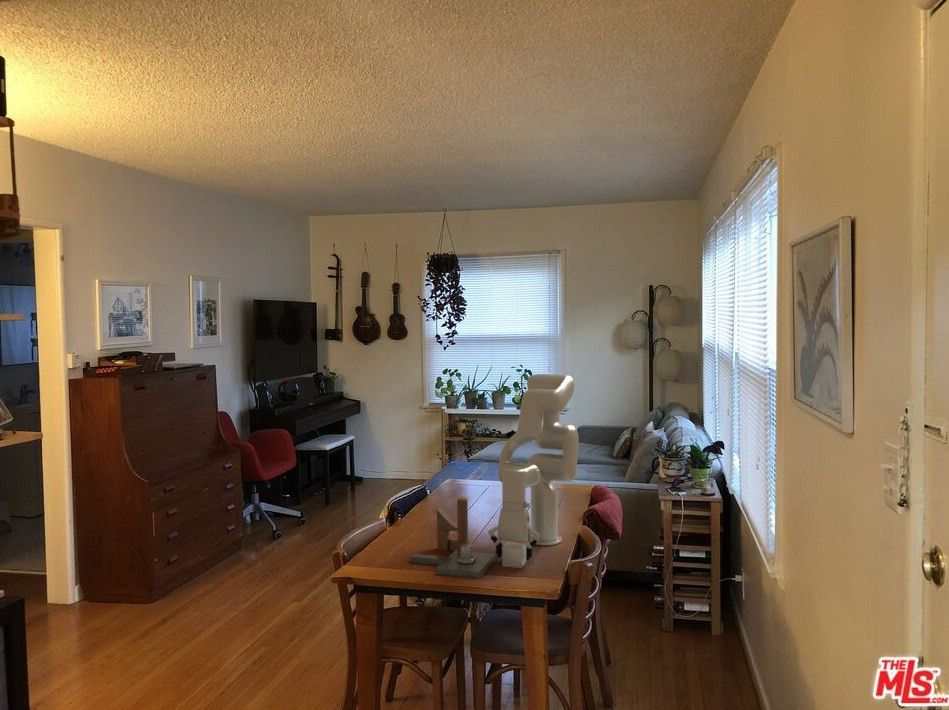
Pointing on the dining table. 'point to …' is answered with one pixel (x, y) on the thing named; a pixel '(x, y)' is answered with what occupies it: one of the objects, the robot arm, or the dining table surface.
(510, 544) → the socket
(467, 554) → the tang block
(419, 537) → the dining table surface
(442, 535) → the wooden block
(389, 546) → the dining table surface
